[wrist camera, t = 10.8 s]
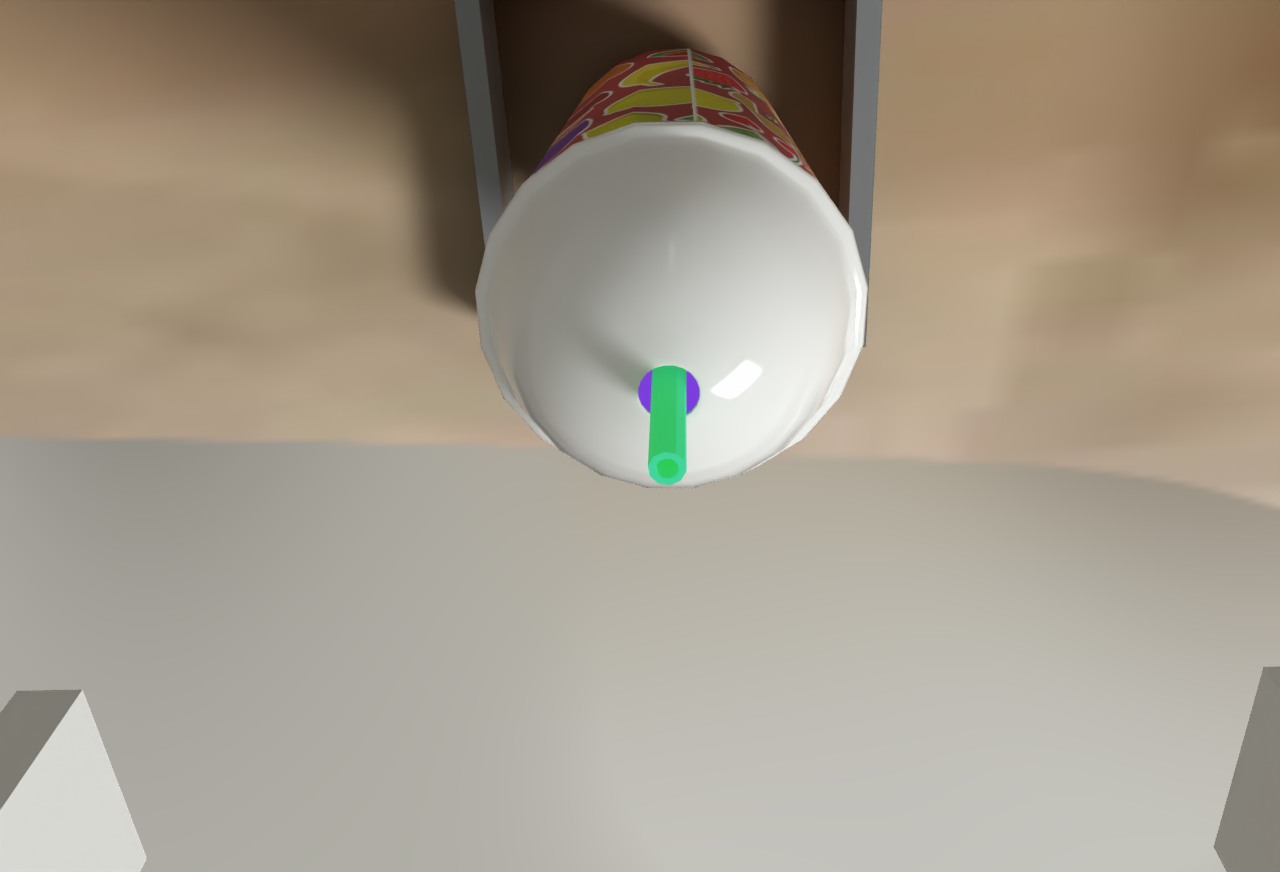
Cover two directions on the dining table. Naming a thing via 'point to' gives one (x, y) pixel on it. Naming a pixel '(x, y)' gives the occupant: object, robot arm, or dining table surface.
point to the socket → (855, 120)
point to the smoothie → (672, 280)
